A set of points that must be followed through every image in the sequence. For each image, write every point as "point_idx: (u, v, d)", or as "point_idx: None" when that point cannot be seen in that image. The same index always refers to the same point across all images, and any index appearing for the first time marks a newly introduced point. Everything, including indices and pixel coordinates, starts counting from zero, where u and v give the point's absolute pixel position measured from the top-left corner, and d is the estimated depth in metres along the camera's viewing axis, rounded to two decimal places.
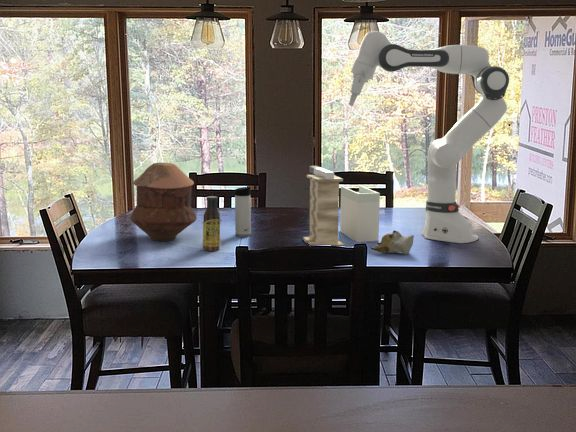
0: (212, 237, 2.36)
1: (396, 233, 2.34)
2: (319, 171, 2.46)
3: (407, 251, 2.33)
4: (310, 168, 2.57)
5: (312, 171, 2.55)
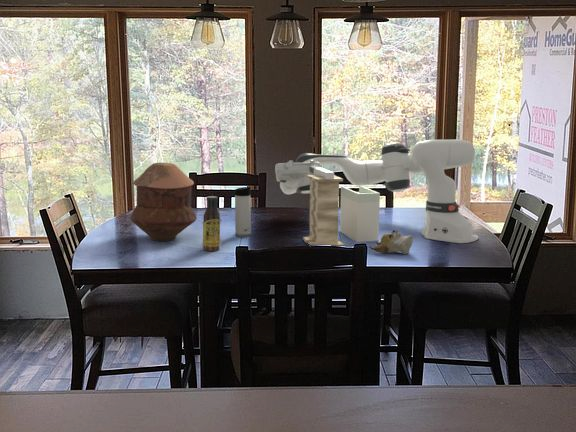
0: (212, 237, 2.36)
1: (395, 233, 2.34)
2: (319, 171, 2.46)
3: (407, 251, 2.33)
4: (310, 168, 2.57)
5: (312, 171, 2.55)
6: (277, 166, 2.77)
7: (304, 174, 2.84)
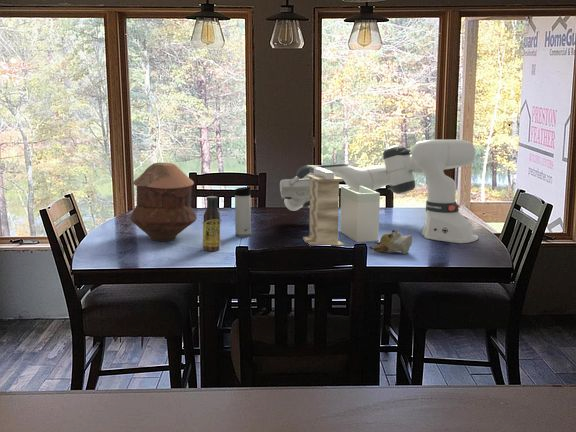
0: (212, 237, 2.36)
1: (395, 233, 2.34)
2: (319, 171, 2.46)
3: (406, 251, 2.34)
4: (310, 168, 2.57)
5: (312, 171, 2.55)
6: (282, 182, 2.66)
7: None
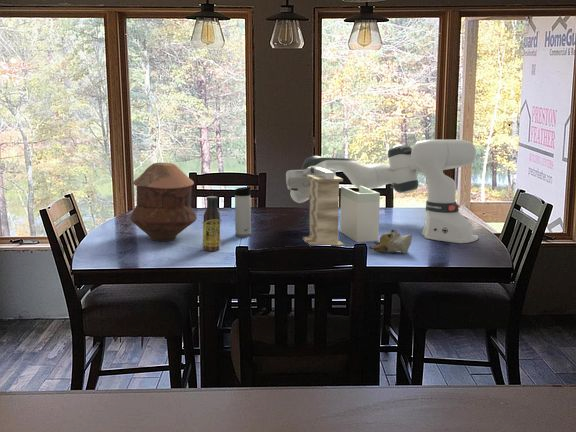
0: (212, 237, 2.36)
1: (394, 232, 2.35)
2: (319, 171, 2.46)
3: (406, 250, 2.34)
4: None
5: (312, 171, 2.55)
6: (288, 173, 2.58)
7: None
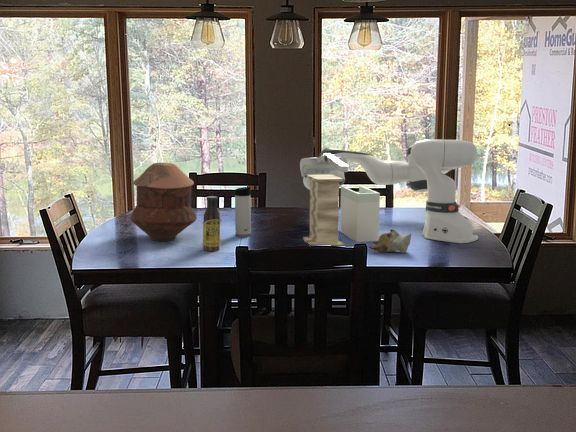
0: (212, 237, 2.36)
1: (394, 232, 2.36)
2: (333, 162, 2.58)
3: (405, 250, 2.35)
4: None
5: (326, 159, 2.66)
6: (303, 161, 2.70)
7: (330, 169, 2.77)
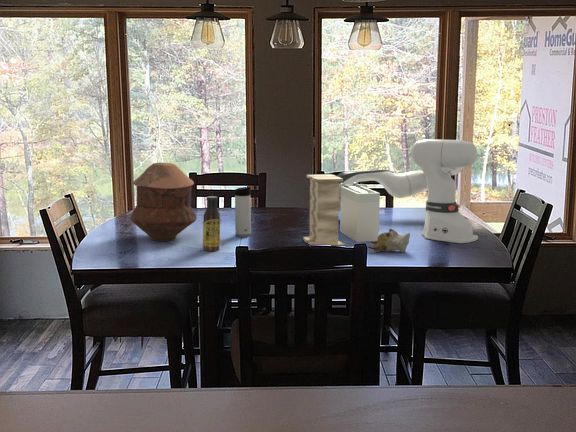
0: (212, 237, 2.36)
1: (393, 231, 2.36)
2: (353, 190, 2.62)
3: (404, 249, 2.36)
4: (344, 186, 2.73)
5: None
6: None
7: None
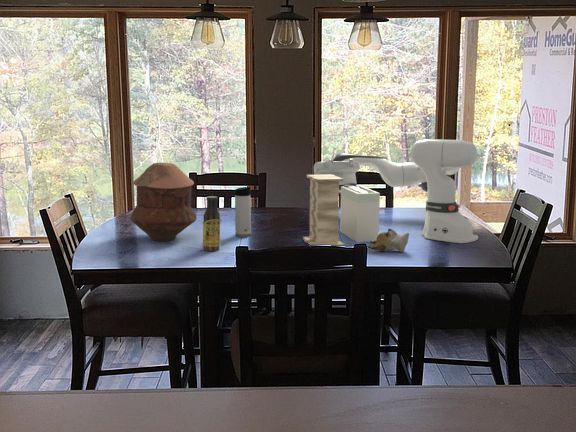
0: (212, 237, 2.36)
1: (392, 231, 2.37)
2: (353, 190, 2.62)
3: (403, 249, 2.36)
4: (344, 186, 2.73)
5: None
6: (317, 165, 2.81)
7: (342, 173, 2.89)
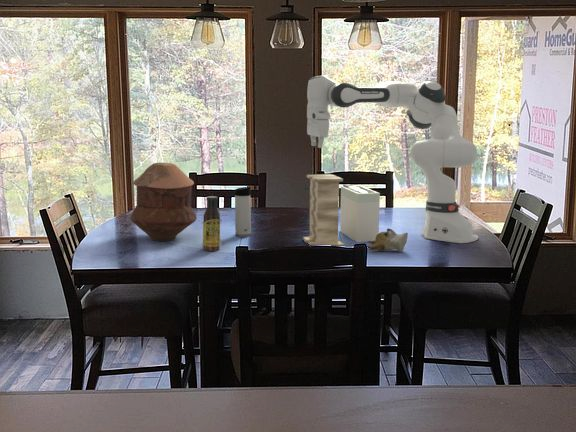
0: (212, 237, 2.36)
1: (391, 231, 2.37)
2: (353, 190, 2.62)
3: (402, 248, 2.37)
4: (344, 186, 2.73)
5: None
6: (324, 136, 2.70)
7: (311, 122, 2.81)
